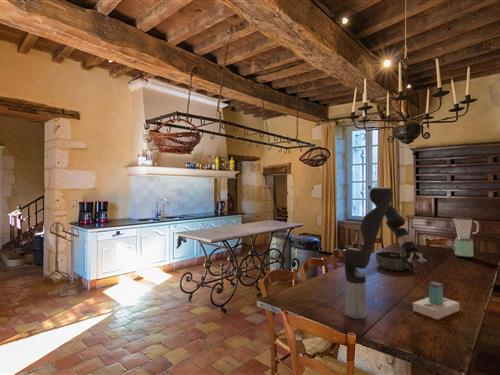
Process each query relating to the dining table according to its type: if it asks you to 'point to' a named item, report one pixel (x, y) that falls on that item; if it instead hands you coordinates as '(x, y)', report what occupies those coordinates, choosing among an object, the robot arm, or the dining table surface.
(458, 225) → the blender
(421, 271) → the dining table surface
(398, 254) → the bundt pan
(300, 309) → the dining table surface
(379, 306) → the dining table surface
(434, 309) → the block
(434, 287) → the plug
